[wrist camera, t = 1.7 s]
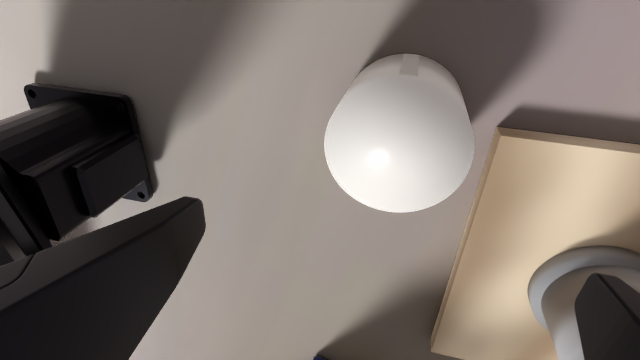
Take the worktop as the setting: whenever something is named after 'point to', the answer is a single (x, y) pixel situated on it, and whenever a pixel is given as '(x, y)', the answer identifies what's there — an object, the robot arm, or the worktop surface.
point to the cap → (400, 135)
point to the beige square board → (539, 245)
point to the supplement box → (318, 358)
